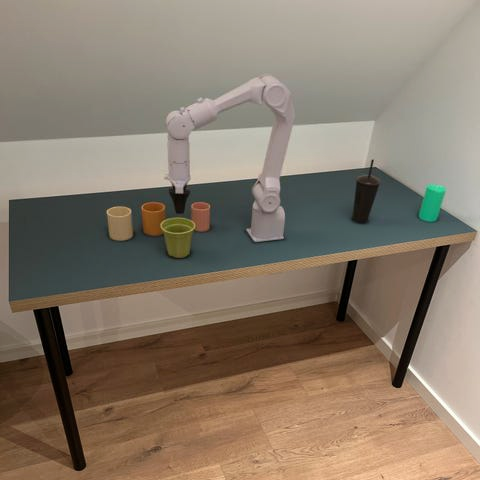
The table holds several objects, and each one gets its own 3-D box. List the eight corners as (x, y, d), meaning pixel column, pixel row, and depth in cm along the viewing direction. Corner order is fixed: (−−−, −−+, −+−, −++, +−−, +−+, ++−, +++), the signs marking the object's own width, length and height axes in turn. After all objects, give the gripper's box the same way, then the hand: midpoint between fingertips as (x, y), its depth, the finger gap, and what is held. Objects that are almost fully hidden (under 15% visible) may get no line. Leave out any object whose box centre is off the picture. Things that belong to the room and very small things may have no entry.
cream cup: (131, 228, 154) (129, 205, 149) (134, 239, 149) (132, 215, 144) (108, 231, 152) (105, 207, 147) (110, 241, 147) (108, 217, 142)
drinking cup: (371, 227, 163) (385, 165, 151) (347, 223, 164) (359, 162, 152) (371, 216, 169) (385, 157, 157) (348, 213, 170) (360, 154, 158)
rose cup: (207, 222, 160) (207, 201, 156) (211, 230, 156) (212, 209, 151) (189, 224, 158) (189, 203, 154) (193, 232, 154) (193, 210, 150)
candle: (416, 218, 170) (426, 184, 163) (420, 212, 174) (430, 178, 167) (435, 223, 168) (445, 188, 161) (438, 216, 172) (449, 182, 165)
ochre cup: (163, 224, 157) (162, 201, 153) (168, 234, 152) (167, 211, 148) (141, 226, 155) (139, 203, 151) (145, 236, 150) (143, 213, 146)
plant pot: (164, 263, 139) (163, 234, 134) (159, 246, 146) (157, 218, 141) (198, 259, 141) (198, 231, 136) (191, 243, 148) (191, 216, 143)
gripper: (164, 150, 141) (165, 196, 149) (163, 169, 129) (165, 218, 138) (189, 150, 142) (190, 196, 150) (190, 170, 130) (191, 218, 138)
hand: (179, 207), depth 144 cm, fingers open, 7 cm apart
